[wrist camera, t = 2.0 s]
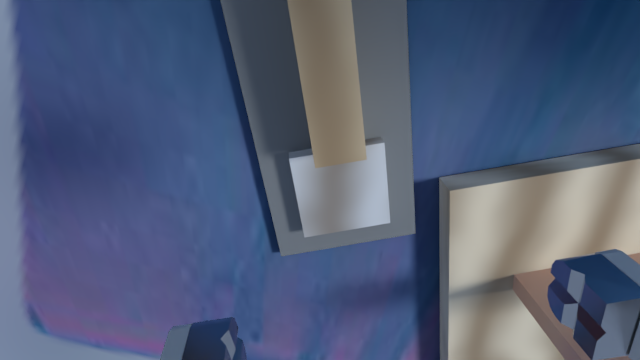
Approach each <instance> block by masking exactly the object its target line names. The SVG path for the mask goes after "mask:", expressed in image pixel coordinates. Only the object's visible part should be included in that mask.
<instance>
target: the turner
mask: <svg viewBox="0 0 640 360" xmlns="http://www.w3.org/2000/svg"><path fill="white" fill-rule="evenodd" d="M287 3H288V9H289V15H290V21H291V27H292V33H293V39H294V45H295V51H296V57H297V63H298V69H299V75H300V81H301V87H302V93H303V99H304V105H305V111H306V117H307V123H308V129H309V135H310V141H311V147H312V149H306V150H300V151H294V152H289V162H290V167H291V172H292V177H293V182H294V187H295V192H296V197H297V202H298V207H299V212H300V217H301V222H302V228H303V233H304V238H305V237H311V236H316V235H322V234H328V233H334V232H340V231H346V230H352V229H358V228H364V227H369V226H375V225H381V224H387V223H390V210H389V197H388V183H387V169H386V156H385V143H384V141H383V139H382V138H381V137H378V138H372V139H366V140H365V136H364V126H363V115H362V105H361V95H360V85H359V74H358V64H357V54H356V44H355V34H354V23H353V13H352V3H351V0H287Z"/></svg>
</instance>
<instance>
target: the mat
mask: <svg viewBox="0 0 640 360" xmlns="http://www.w3.org/2000/svg"><path fill="white" fill-rule="evenodd" d="M220 1H221V5H222V10H223V14H224V18H225V22H226V26H227V31H228V35H229V39H230V43H231V47H232V52H233V56H234V60H235V64H236V68H237V73H238V77H239V81H240V85H241V89H242V94H243V98H244V102H245V106H246V110H247V115H248V119H249V123H250V127H251V131H252V136H253V140H254V144H255V148H256V152H257V157H258V161H259V165H260V169H261V173H262V178H263V182H264V186H265V190H266V194H267V199H268V203H269V207H270V211H271V215H272V220H273V224H274V228H275V232H276V236H277V241H278V245H279V249H280V253H281V256H286V255H292V254H298V253H304V252H310V251H315V250H321V249H327V248H333V247H339V246H345V245H351V244H357V243H363V242H368V241H374V240H380V239H386V238H392V237H398V236H404V235H410V234H415V207H414V181H413V155H412V130H411V104H410V78H409V52H408V26H407V0H351V3H352V13H353V23H354V34H355V44H356V54H357V64H358V74H359V85H360V95H361V105H362V115H363V126H364V136H365V140H366V139H372V138H378V137H381V138H382V139H383V141H384V143H385V156H386V169H387V183H388V197H389V210H390V223H387V224H381V225H375V226H369V227H364V228H358V229H352V230H346V231H340V232H334V233H328V234H322V235H316V236H311V237H305V238H304V233H303V228H302V222H301V217H300V212H299V207H298V202H297V197H296V192H295V187H294V182H293V177H292V172H291V167H290V162H289V152H294V151H300V150H306V149H312V147H311V141H310V135H309V129H308V123H307V117H306V111H305V105H304V99H303V93H302V87H301V81H300V75H299V69H298V63H297V57H296V51H295V45H294V39H293V33H292V27H291V21H290V15H289V9H288V3H287V0H220Z"/></svg>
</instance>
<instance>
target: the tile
mask: <svg viewBox="0 0 640 360" xmlns="http://www.w3.org/2000/svg"><path fill="white" fill-rule="evenodd" d="M628 256H629V257H630V258H632V259H633V260H634V261H636V262H637V263H638V264H639V265H640V253H636V254H630V255H628ZM554 279H555V277H554V276H553V275H552V274H551V268H549V269H543V270H537V271H531V272H526V273H520V274H514V280H513V291H514V292H515V293H516V295H517V296H518V297H519V299H520V300H521V301H522V303H523V304H524V305H525V307H526V308H527V309H528V311H529V312H530V313H531V315H532V316H533V317H534V319H535V320H536V322H537V323H538V324H539V326H540V327H541V328H542V330H543V331H544V332H545V334H546V335H547V336H548V338H549V339H550V340H551V342H552V343H553V344H554V346H555V347H556V348H557V350H558V351H559V352H560V354H561V355H562V356H563V358H564V359H565V360H591V359H590V358H589V357H588V355H587V354H586V353H585V352H584V351H583V349H582V348H581V347H580V346H579V345H578V343H577V342H576V341H575V340H574V339H573V329H571V328H569V327H567V326H565V325H563V324H561V323H560V322H559V320H558V319H557V318H556V317H555V315H554V314H553V312H552V310H551V308H550V305H549V301H548V297H547V294H548V286H549V285H550V284H551V283H552V281H553V280H554ZM628 356H629V355H628ZM628 356H621V357H615V358H608V359H601V360H632V359H630V358H628Z"/></svg>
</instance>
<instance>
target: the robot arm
mask: <svg viewBox="0 0 640 360" xmlns="http://www.w3.org/2000/svg"><path fill="white" fill-rule="evenodd" d="M551 274H552V275H553V276H554V277H555V279H554V280H553V281H552V283H551V284H550V285H549V286H548V294H547V297H548V301H549V305H550V308H551V310H552V312H553V314H554V315H555V317H556V318H557V319H558V320H559V322H560V323H561V324H563V325H565V326H567V327H569V328H571V329H573V339H574V340H575V341H576V342H577V343H578V345H579V346H580V347H581V348H582V349H583V351H584V352H585V353H586V354H587V355H588V357H589V358H590V359H591V360H601V359H608V358H615V357H621V356H628V355H629V356H628V358H630V359H632V360H640V265H639V264H638V263H637V262H636V261H634V260H633V259H632V258H630V257H629V256H628V255H627V254H625V253H624V252H622V251H620V250H617V249H612V250H606V251H601V252H596V253H591V254H586V255H580V256H575V257H569V258H564V259H559V260H555V261H554V263H553V264H552V267H551ZM237 334H238V326H237V323H236V321H235V318H233V317H230V318H223V319H217V320H210V321H203V322H197V323H193V324H186V325H179V326H173V327H172V328H171V330H170V331H169V333H168V336H167V339H166V342H165V345H164V348H163V352H162V355H161V358H160V360H247V359H246V352H245V347H244V344H243V340H241V339H240V338H238V337H237Z"/></svg>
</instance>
